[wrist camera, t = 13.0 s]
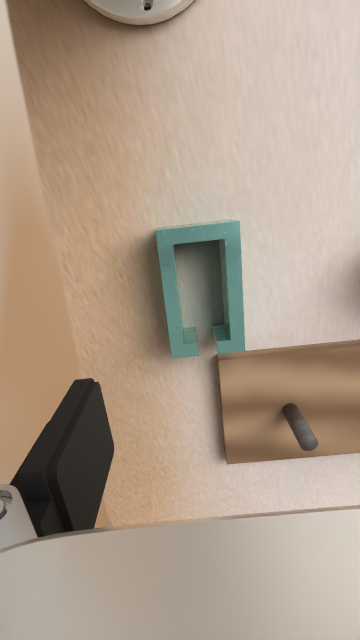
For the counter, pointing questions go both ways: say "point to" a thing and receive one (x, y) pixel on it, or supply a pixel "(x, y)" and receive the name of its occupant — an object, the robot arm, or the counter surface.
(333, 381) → the stand
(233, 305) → the c link
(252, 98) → the counter surface
